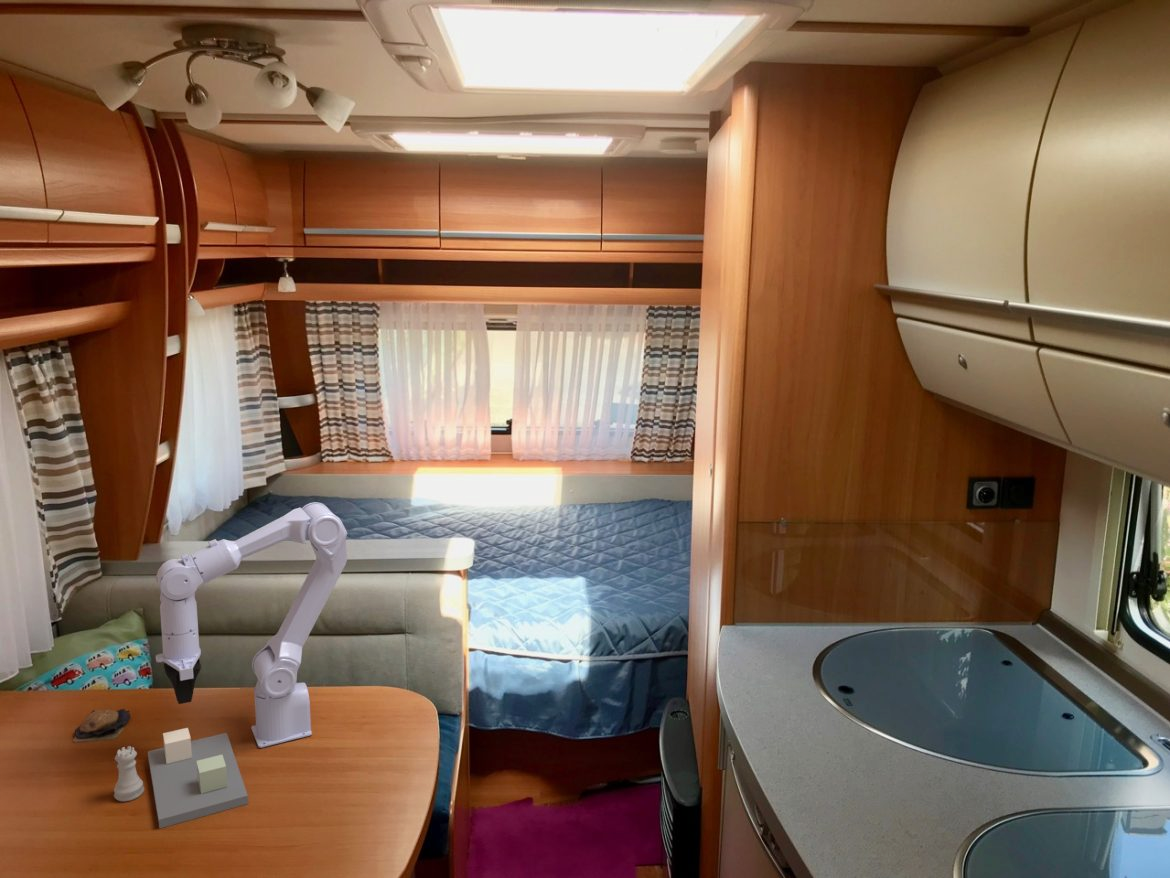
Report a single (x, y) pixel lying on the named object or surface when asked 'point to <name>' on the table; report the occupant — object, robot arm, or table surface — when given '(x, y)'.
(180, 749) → the cream matte cube
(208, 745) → the panel
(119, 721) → the abalone
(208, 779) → the pale green cube
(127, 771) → the rook chess piece
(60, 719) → the table surface
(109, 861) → the table surface
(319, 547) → the robot arm
